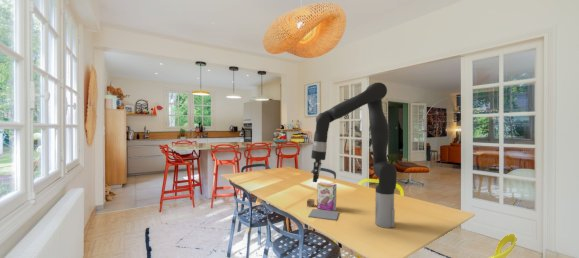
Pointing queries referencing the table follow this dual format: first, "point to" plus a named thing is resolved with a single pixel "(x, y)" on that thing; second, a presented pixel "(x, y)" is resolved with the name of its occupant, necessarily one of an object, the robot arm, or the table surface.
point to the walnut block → (310, 203)
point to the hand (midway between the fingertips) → (315, 180)
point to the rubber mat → (324, 214)
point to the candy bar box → (326, 196)
